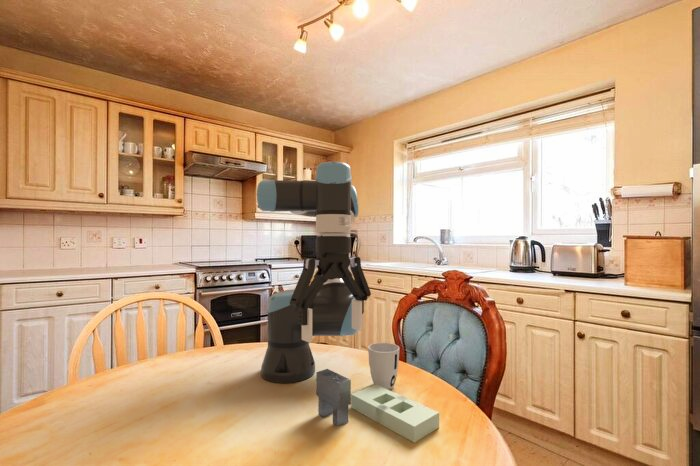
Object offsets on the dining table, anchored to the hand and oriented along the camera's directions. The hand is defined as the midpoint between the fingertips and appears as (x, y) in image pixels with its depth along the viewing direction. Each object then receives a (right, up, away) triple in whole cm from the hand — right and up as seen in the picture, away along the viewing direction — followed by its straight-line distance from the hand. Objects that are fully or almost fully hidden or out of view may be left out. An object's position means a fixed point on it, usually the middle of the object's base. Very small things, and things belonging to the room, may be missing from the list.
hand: (333, 334), depth 74 cm
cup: (+12, -18, +16) cm, 27 cm away
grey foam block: (0, -18, 0) cm, 18 cm away
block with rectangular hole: (+13, -18, 0) cm, 22 cm away
